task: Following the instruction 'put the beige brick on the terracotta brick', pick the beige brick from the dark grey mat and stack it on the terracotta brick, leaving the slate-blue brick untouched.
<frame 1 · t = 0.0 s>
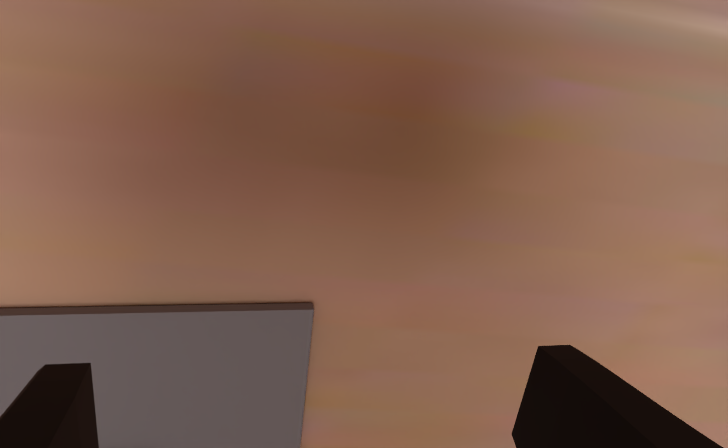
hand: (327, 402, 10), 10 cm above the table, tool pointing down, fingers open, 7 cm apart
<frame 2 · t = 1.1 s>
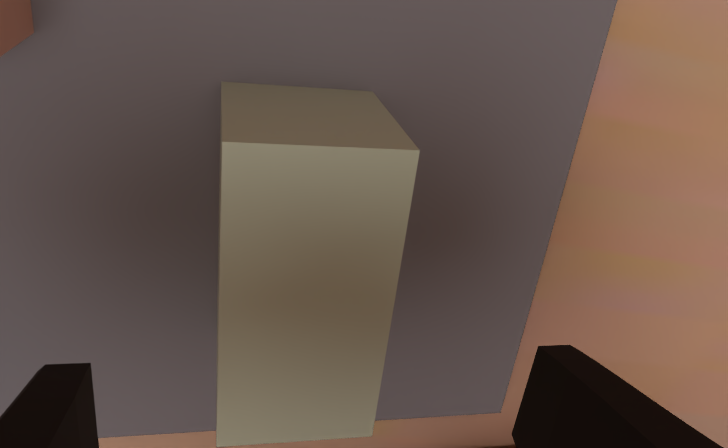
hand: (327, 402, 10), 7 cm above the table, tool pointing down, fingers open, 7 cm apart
mat: (98, 154, 14), on the table
beige brick: (289, 221, 16), resting on mat
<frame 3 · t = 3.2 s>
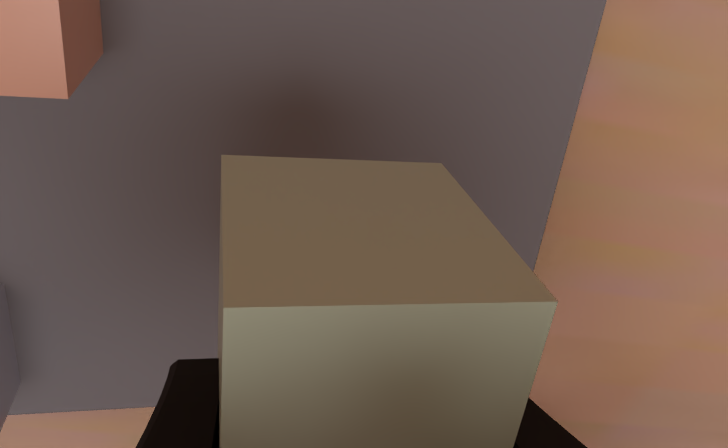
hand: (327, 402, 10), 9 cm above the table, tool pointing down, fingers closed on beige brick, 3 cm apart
mat: (152, 155, 17), on the table
beige brick: (316, 339, 11), point 8 cm above the table, touching gripper
when the fingers open (7 cm above the table, at t = 4.4 s): beige brick stays where it is, resting on terracotta brick.
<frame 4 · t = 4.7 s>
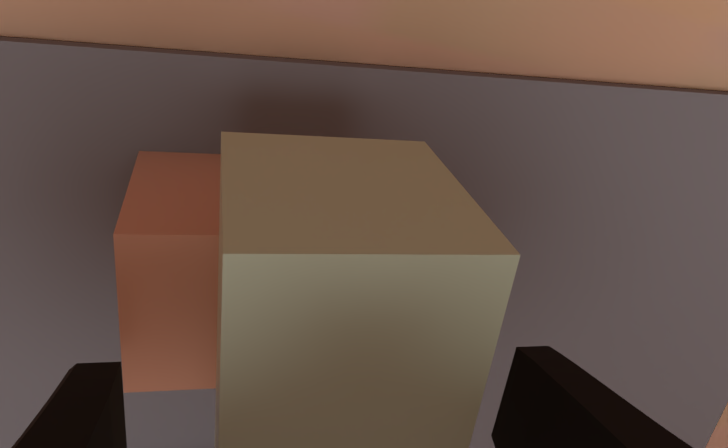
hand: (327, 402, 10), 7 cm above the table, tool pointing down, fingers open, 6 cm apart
terracotta brick: (288, 222, 16), resting on mat, touching beige brick
mat: (424, 349, 19), on the table
beige brick: (309, 307, 12), point 4 cm above the table, touching terracotta brick
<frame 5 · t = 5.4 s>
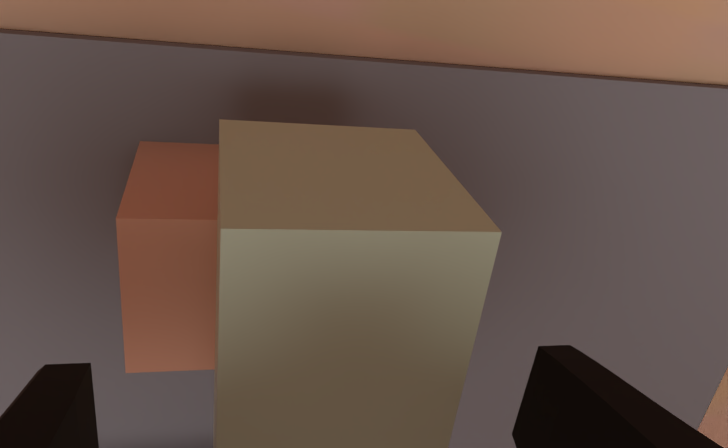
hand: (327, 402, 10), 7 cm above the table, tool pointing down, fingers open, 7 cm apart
terracotta brick: (285, 211, 16), resting on mat, touching beige brick
mat: (418, 337, 19), on the table
beige brick: (305, 291, 13), point 4 cm above the table, touching terracotta brick
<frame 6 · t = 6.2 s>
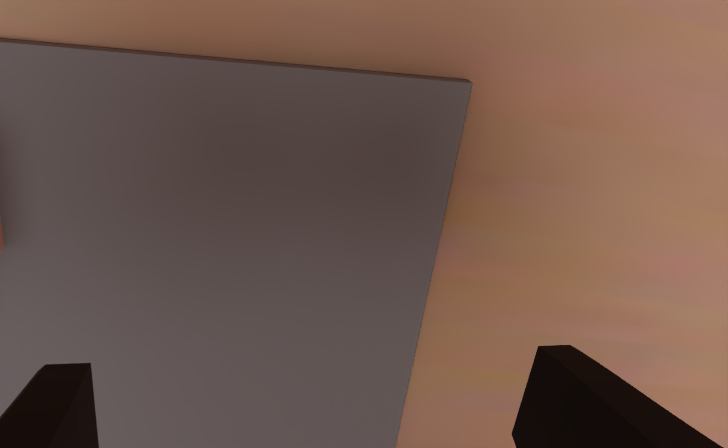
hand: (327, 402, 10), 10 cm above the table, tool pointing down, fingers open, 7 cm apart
mat: (54, 317, 19), on the table
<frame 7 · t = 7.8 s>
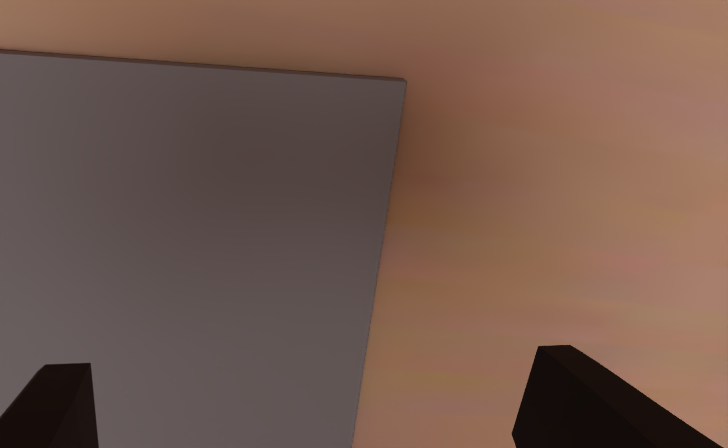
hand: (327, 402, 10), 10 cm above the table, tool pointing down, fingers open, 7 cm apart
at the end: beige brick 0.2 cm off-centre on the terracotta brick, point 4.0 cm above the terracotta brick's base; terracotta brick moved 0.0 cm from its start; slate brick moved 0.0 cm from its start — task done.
